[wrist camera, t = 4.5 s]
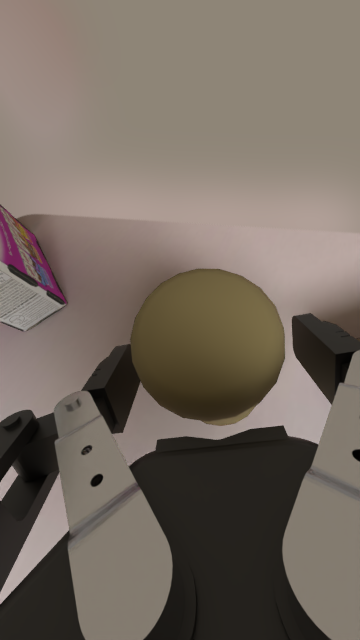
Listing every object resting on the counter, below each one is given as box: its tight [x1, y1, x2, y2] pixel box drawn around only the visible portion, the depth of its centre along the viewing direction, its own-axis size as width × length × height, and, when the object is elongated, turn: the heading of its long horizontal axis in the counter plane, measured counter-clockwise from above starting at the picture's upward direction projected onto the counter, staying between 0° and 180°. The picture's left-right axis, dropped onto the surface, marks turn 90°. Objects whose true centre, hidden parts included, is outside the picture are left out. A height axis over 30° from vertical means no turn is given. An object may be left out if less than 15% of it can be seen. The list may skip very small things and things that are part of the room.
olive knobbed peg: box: [130, 269, 285, 426], centre depth 12 cm, size 6×6×11 cm
